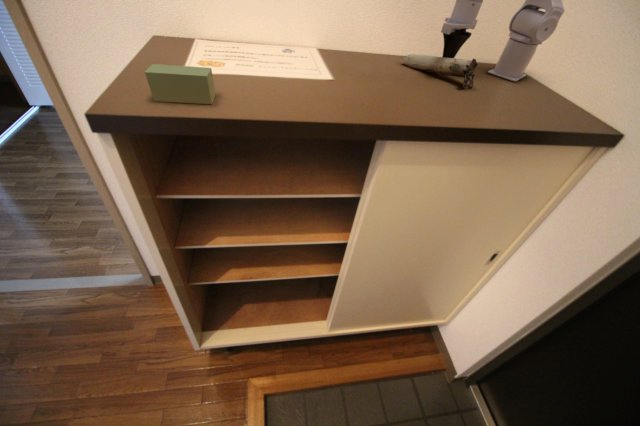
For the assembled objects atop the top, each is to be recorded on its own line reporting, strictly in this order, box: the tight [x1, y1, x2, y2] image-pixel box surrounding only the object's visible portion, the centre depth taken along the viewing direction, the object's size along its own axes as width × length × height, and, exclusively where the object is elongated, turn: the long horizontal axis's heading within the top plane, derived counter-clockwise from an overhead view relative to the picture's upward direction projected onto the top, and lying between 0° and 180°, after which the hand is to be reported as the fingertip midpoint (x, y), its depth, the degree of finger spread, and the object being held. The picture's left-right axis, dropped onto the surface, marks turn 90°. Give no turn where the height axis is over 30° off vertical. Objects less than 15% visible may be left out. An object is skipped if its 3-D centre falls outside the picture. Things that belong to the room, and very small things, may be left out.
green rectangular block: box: [144, 63, 216, 105], centre depth 51 cm, size 4×10×5 cm, turn 95°
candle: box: [400, 53, 478, 90], centre depth 74 cm, size 6×20×6 cm, turn 36°
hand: (446, 62), depth 75 cm, fingers closed
